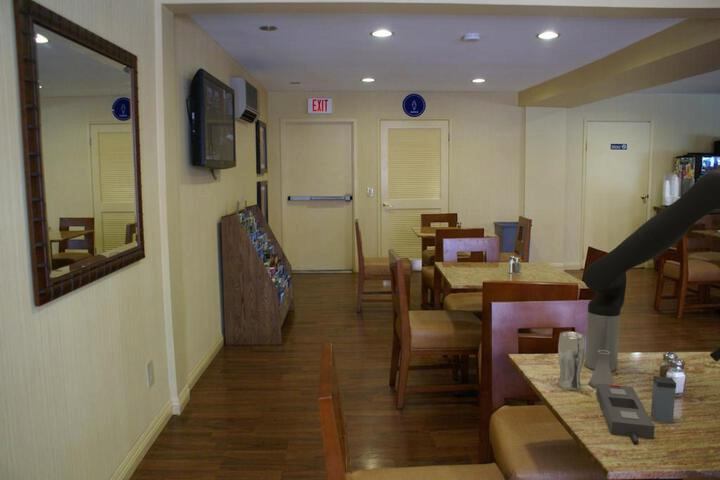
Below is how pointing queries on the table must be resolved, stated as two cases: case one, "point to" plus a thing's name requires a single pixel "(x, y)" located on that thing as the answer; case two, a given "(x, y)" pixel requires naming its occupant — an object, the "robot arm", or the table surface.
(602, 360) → the flask
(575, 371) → the beer glass
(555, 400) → the table surface
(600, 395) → the power strip
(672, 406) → the plug
